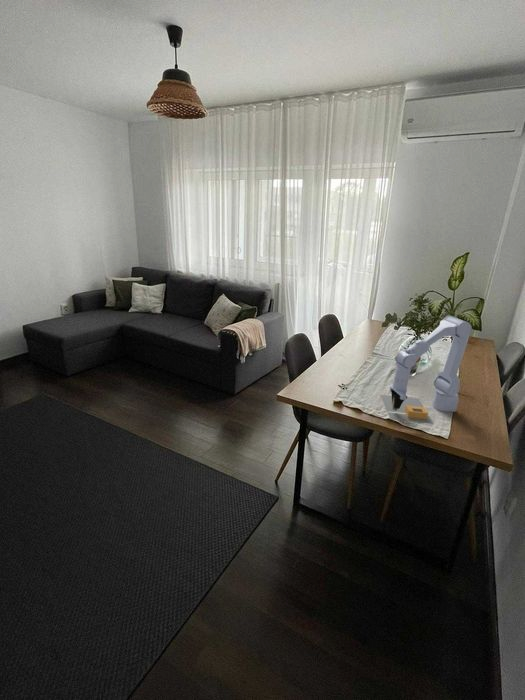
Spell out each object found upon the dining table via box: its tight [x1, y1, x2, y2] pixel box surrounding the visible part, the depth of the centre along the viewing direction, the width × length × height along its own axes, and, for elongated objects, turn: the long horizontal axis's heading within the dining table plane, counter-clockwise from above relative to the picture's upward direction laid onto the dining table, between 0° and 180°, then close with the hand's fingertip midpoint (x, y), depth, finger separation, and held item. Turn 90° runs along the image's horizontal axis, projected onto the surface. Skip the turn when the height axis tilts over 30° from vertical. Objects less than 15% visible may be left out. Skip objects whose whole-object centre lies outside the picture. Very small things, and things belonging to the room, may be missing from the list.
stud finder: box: [405, 405, 429, 419], centre depth 149 cm, size 8×5×3 cm, turn 83°
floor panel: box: [379, 394, 434, 425], centre depth 155 cm, size 18×22×1 cm
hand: (395, 406), depth 150 cm, fingers closed on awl, 3 cm apart
